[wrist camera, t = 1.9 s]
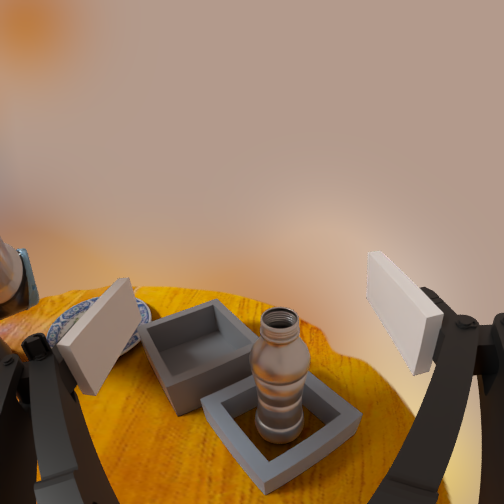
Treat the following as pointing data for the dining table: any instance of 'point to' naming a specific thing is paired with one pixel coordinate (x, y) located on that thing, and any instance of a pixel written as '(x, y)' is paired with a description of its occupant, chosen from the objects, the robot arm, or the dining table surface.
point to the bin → (197, 352)
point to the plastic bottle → (279, 375)
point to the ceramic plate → (79, 310)
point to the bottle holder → (297, 458)
